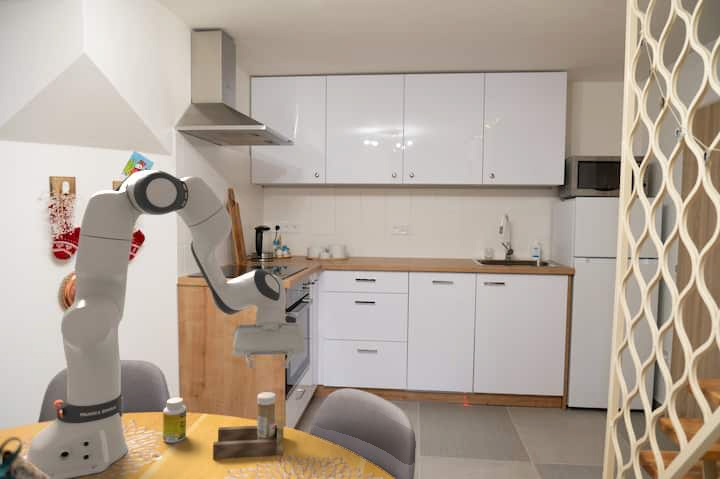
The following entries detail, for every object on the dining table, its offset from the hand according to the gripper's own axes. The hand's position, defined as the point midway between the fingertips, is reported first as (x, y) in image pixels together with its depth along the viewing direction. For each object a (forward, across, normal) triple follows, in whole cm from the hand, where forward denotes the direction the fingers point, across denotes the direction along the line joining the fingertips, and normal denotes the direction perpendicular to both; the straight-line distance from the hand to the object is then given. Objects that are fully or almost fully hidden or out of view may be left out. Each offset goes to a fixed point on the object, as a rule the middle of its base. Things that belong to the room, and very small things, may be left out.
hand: (268, 367), depth 126 cm
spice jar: (+20, 0, +5) cm, 20 cm away
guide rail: (+20, -4, +5) cm, 20 cm away
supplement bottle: (+15, -24, +10) cm, 30 cm away
